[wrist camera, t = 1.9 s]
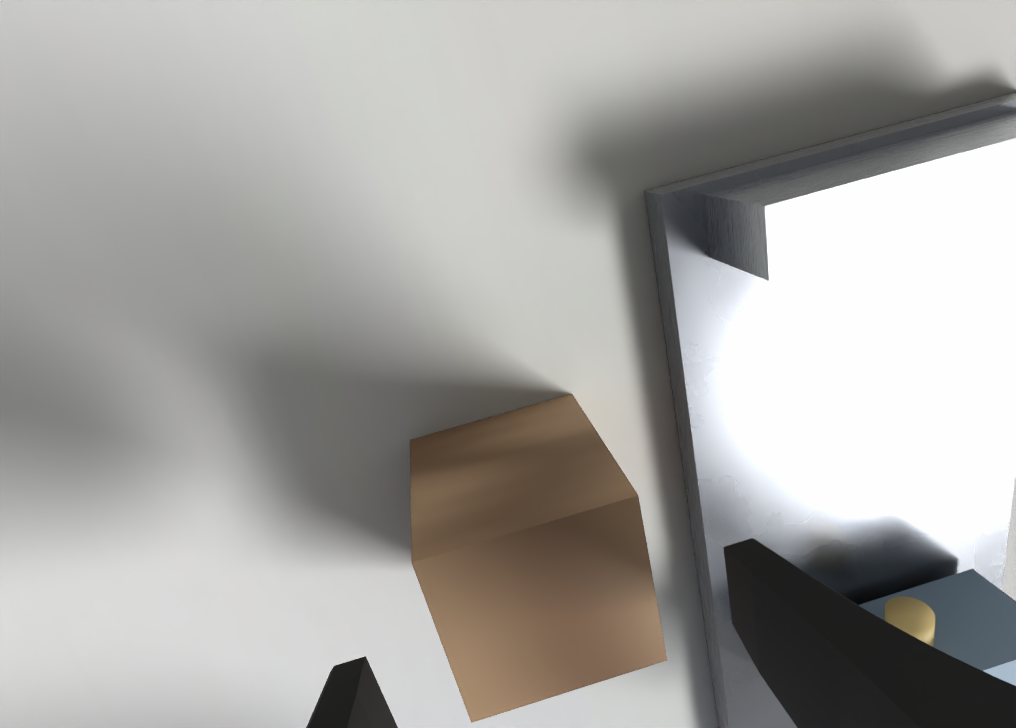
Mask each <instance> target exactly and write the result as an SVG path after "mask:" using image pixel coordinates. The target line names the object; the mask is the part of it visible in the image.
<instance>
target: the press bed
mask: <svg viewBox="0 0 1016 728" xmlns="http://www.w3.org/2000/svg"><path fill="white" fill-rule="evenodd" d="M645 197H646V204H647V212H648V219H649V226H650V233H651V240H652V248H653V255H654V262H655V269H656V277H657V284H658V291H659V298H660V305H661V313H662V320H663V327H664V334H665V341H666V349H667V356H668V363H669V370H670V378H671V385H672V392H673V399H674V406H675V414H676V421H677V428H678V435H679V442H680V450H681V457H682V464H683V471H684V478H685V486H686V493H687V500H688V507H689V515H690V522H691V529H692V536H693V543H694V551H695V558H696V565H697V572H698V579H699V587H700V594H701V601H702V608H703V616H704V623H705V630H706V637H707V644H708V652H709V659H710V666H711V673H712V680H713V688H714V695H715V702H716V709H717V716H718V724H719V728H797V726H796V725H795V724H794V722H793V721H792V719H791V718H790V716H789V715H788V714H787V712H786V711H785V709H784V708H783V706H782V705H781V704H780V702H779V701H778V699H777V698H776V696H775V695H774V694H773V692H772V691H771V689H770V688H769V686H768V685H767V683H766V682H765V680H764V679H763V678H762V676H761V675H760V673H759V671H758V670H757V668H756V666H755V664H754V662H753V661H752V659H751V657H750V655H749V654H748V652H747V650H746V648H745V646H744V645H743V643H742V641H741V639H740V637H739V635H738V633H737V632H736V630H735V628H734V626H733V624H732V619H731V610H730V601H729V592H728V583H727V574H726V566H725V557H724V548H723V547H725V546H728V545H731V544H735V543H738V542H741V541H744V540H748V539H751V538H753V539H755V540H757V541H759V542H760V543H762V544H763V545H765V546H766V547H768V548H769V549H771V550H772V551H774V552H775V553H777V554H778V555H780V556H781V557H783V558H784V559H786V560H787V561H789V562H790V563H792V564H794V565H795V566H797V567H798V568H800V569H801V570H803V571H804V572H806V573H807V574H809V575H810V576H812V577H814V578H815V579H817V580H818V581H820V582H821V583H823V584H825V585H826V586H828V587H829V588H831V589H833V590H834V591H836V592H837V593H839V594H841V595H842V596H844V597H846V598H847V599H849V600H851V601H852V602H854V603H856V604H857V605H860V604H863V603H866V602H870V601H873V600H876V599H879V598H882V597H885V596H888V595H892V594H895V593H898V592H901V591H904V590H907V589H910V588H914V587H917V586H920V585H923V584H926V583H929V582H932V581H935V580H939V579H942V578H945V577H948V576H951V575H954V574H957V573H961V572H964V571H967V570H970V569H974V570H975V571H976V572H978V573H979V574H980V575H982V576H983V577H984V578H986V579H987V580H988V581H990V582H991V583H992V584H993V585H995V586H996V587H997V588H999V589H1000V590H1001V591H1002V583H1003V575H1004V566H1005V558H1006V549H1007V541H1008V532H1009V524H1010V515H1011V507H1012V498H1013V490H1014V481H1015V473H1016V92H1015V93H1012V94H1008V95H1004V96H1000V97H996V98H993V99H989V100H985V101H981V102H978V103H974V104H970V105H966V106H963V107H959V108H955V109H951V110H948V111H944V112H940V113H936V114H932V115H929V116H925V117H921V118H917V119H914V120H910V121H906V122H902V123H899V124H895V125H891V126H887V127H884V128H880V129H876V130H872V131H868V132H865V133H861V134H857V135H853V136H850V137H846V138H842V139H838V140H835V141H831V142H827V143H823V144H820V145H816V146H812V147H808V148H804V149H801V150H797V151H793V152H789V153H786V154H782V155H778V156H774V157H771V158H767V159H763V160H759V161H755V162H752V163H748V164H744V165H740V166H737V167H733V168H729V169H725V170H722V171H718V172H714V173H710V174H707V175H703V176H699V177H695V178H691V179H688V180H684V181H680V182H676V183H673V184H669V185H665V186H661V187H658V188H654V189H650V190H646V191H645Z"/></svg>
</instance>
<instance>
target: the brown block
mask: <svg viewBox="0 0 1016 728" xmlns="http://www.w3.org/2000/svg"><path fill="white" fill-rule="evenodd" d="M410 476H411V550H412V565H413V568H414V570H415V573H416V576H417V578H418V581H419V584H420V586H421V589H422V592H423V594H424V597H425V600H426V603H427V605H428V608H429V611H430V613H431V616H432V619H433V621H434V624H435V627H436V629H437V632H438V635H439V637H440V640H441V643H442V645H443V648H444V651H445V653H446V656H447V659H448V661H449V664H450V667H451V669H452V672H453V675H454V677H455V680H456V683H457V685H458V688H459V691H460V693H461V696H462V699H463V701H464V704H465V707H466V709H467V712H468V715H469V717H470V720H471V723H472V722H475V721H478V720H481V719H484V718H488V717H491V716H494V715H497V714H500V713H503V712H506V711H510V710H513V709H516V708H519V707H522V706H525V705H528V704H532V703H535V702H538V701H541V700H544V699H547V698H550V697H553V696H557V695H560V694H563V693H566V692H569V691H572V690H575V689H579V688H582V687H585V686H588V685H591V684H594V683H597V682H601V681H604V680H607V679H610V678H613V677H616V676H619V675H623V674H626V673H629V672H632V671H635V670H638V669H641V668H645V667H648V666H651V665H654V664H657V663H660V662H663V661H667V656H666V651H665V645H664V639H663V634H662V628H661V622H660V617H659V611H658V605H657V600H656V594H655V588H654V583H653V577H652V571H651V566H650V560H649V554H648V549H647V543H646V537H645V532H644V526H643V520H642V515H641V509H640V503H639V498H638V494H637V493H636V491H635V490H634V488H633V487H632V485H631V484H630V482H629V481H628V479H627V477H626V476H625V474H624V473H623V471H622V470H621V468H620V467H619V465H618V464H617V462H616V461H615V459H614V458H613V456H612V454H611V453H610V451H609V450H608V448H607V447H606V445H605V444H604V442H603V441H602V439H601V438H600V436H599V434H598V433H597V431H596V430H595V428H594V427H593V425H592V424H591V422H590V421H589V419H588V418H587V416H586V414H585V413H584V411H583V410H582V408H581V407H580V405H579V404H578V402H577V401H576V399H575V398H574V396H573V395H572V394H570V395H566V396H563V397H559V398H556V399H552V400H549V401H545V402H542V403H538V404H535V405H531V406H528V407H524V408H521V409H517V410H514V411H510V412H507V413H503V414H500V415H496V416H493V417H489V418H486V419H482V420H479V421H475V422H472V423H468V424H465V425H461V426H458V427H454V428H451V429H447V430H444V431H440V432H437V433H433V434H430V435H426V436H423V437H419V438H416V439H412V440H410Z"/></svg>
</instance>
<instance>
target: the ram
mask: <svg viewBox="0 0 1016 728" xmlns="http://www.w3.org/2000/svg"><path fill="white" fill-rule="evenodd" d="M859 606H861V607H862V608H864V609H866V610H867V611H869V612H871V613H872V614H874V615H876V616H878V617H879V618H881V619H883V620H885V621H886V622H888V623H890V624H892V625H893V626H895V627H897V628H899V629H901V630H903V631H904V632H906V633H908V634H910V635H912V636H914V637H915V638H917V639H919V640H921V641H923V642H925V643H927V644H929V645H930V646H932V647H934V648H936V649H938V650H940V651H942V652H944V653H946V654H948V655H950V656H952V657H954V658H956V659H959V660H961V661H963V662H965V663H967V664H969V665H971V666H973V667H975V668H977V669H980V670H982V671H984V672H986V673H988V674H990V675H992V676H994V677H997V678H999V679H1001V680H1003V681H1006V682H1008V683H1010V684H1013V685H1015V686H1016V601H1015V600H1013V599H1012V598H1011V597H1009V596H1008V595H1007V594H1005V593H1004V592H1003V591H1001V590H1000V589H999V588H997V587H996V586H995V585H993V584H992V583H991V582H990V581H988V580H987V579H986V578H984V577H983V576H982V575H980V574H979V573H978V572H976V571H975V570H974V569H970V570H967V571H964V572H961V573H957V574H954V575H951V576H948V577H945V578H942V579H939V580H935V581H932V582H929V583H926V584H923V585H920V586H917V587H914V588H910V589H907V590H904V591H901V592H898V593H895V594H892V595H888V596H885V597H882V598H879V599H876V600H873V601H870V602H866V603H863V604H860V605H859Z"/></svg>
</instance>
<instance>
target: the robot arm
mask: <svg viewBox="0 0 1016 728" xmlns="http://www.w3.org/2000/svg"><path fill="white" fill-rule="evenodd" d="M723 548H724V557H725V566H726V574H727V583H728V592H729V601H730V610H731V619H732V624H733V626H734V628H735V630H736V632H737V633H738V635H739V637H740V639H741V641H742V643H743V645H744V646H745V648H746V650H747V652H748V654H749V655H750V657H751V659H752V661H753V662H754V664H755V666H756V668H757V670H758V671H759V673H760V675H761V676H762V678H763V679H764V680H765V682H766V683H767V685H768V686H769V688H770V689H771V691H772V692H773V694H774V695H775V696H776V698H777V699H778V701H779V702H780V704H781V705H782V706H783V708H784V709H785V711H786V712H787V714H788V715H789V716H790V718H791V719H792V721H793V722H794V724H795V725H796V726H797V728H1016V686H1015V685H1013V684H1010V683H1008V682H1006V681H1003V680H1001V679H999V678H997V677H994V676H992V675H990V674H988V673H986V672H984V671H982V670H980V669H977V668H975V667H973V666H971V665H969V664H967V663H965V662H963V661H961V660H959V659H956V658H954V657H952V656H950V655H948V654H946V653H944V652H942V651H940V650H938V649H936V648H934V647H932V646H930V645H929V644H927V643H925V642H923V641H921V640H919V639H917V638H915V637H914V636H912V635H910V634H908V633H906V632H904V631H903V630H901V629H899V628H897V627H895V626H893V625H892V624H890V623H888V622H886V621H885V620H883V619H881V618H879V617H878V616H876V615H874V614H872V613H871V612H869V611H867V610H866V609H864V608H862V607H861V606H859V605H857V604H856V603H854V602H852V601H851V600H849V599H847V598H846V597H844V596H842V595H841V594H839V593H837V592H836V591H834V590H833V589H831V588H829V587H828V586H826V585H825V584H823V583H821V582H820V581H818V580H817V579H815V578H814V577H812V576H810V575H809V574H807V573H806V572H804V571H803V570H801V569H800V568H798V567H797V566H795V565H794V564H792V563H790V562H789V561H787V560H786V559H784V558H783V557H781V556H780V555H778V554H777V553H775V552H774V551H772V550H771V549H769V548H768V547H766V546H765V545H763V544H762V543H760V542H759V541H757V540H755V539H753V538H751V539H748V540H744V541H741V542H738V543H735V544H731V545H728V546H725V547H723ZM306 728H398V727H397V725H396V723H395V720H394V718H393V716H392V714H391V712H390V709H389V707H388V705H387V703H386V701H385V698H384V696H383V694H382V692H381V689H380V687H379V685H378V683H377V681H376V678H375V676H374V674H373V672H372V669H371V667H370V665H369V663H368V661H367V658H366V656H365V657H362V658H359V659H355V660H352V661H349V662H346V663H342V664H339V665H336V666H334V667H333V669H332V670H331V672H330V674H329V677H328V679H327V681H326V683H325V686H324V688H323V691H322V693H321V695H320V697H319V700H318V702H317V704H316V707H315V709H314V711H313V714H312V716H311V718H310V720H309V723H308V725H307V727H306Z"/></svg>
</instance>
